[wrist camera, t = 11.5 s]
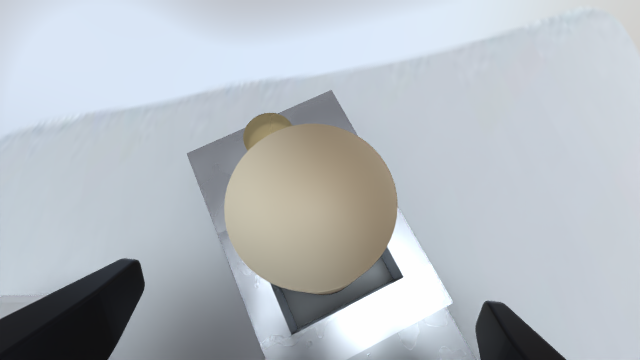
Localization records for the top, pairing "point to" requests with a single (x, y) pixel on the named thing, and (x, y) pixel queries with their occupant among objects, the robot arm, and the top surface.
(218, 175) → the mounting plate
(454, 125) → the top surface
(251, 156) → the pin
